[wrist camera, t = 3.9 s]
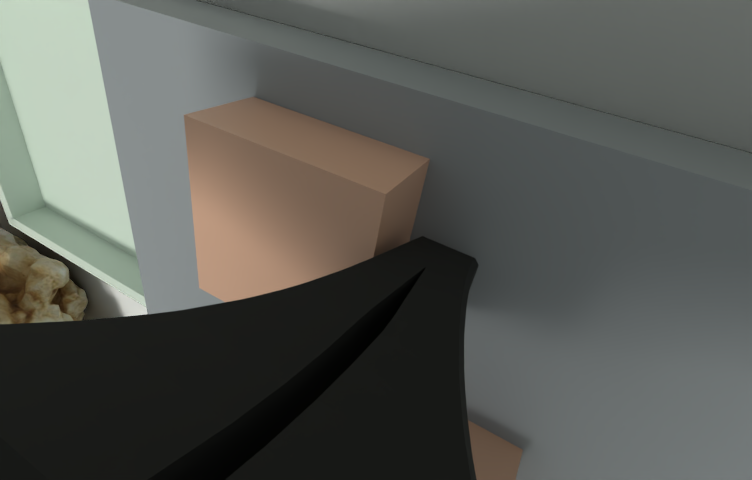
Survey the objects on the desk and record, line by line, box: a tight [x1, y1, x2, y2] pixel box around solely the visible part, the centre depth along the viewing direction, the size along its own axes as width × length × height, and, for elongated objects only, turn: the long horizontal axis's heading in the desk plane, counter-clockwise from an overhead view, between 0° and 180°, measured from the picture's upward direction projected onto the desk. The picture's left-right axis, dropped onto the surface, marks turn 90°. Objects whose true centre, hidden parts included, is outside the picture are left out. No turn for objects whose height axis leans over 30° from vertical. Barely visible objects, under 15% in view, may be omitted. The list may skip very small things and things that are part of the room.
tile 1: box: [468, 420, 523, 480], centre depth 12 cm, size 4×4×2 cm
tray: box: [0, 0, 147, 308], centre depth 17 cm, size 12×10×2 cm
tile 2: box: [184, 97, 430, 302], centre depth 10 cm, size 4×4×2 cm
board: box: [88, 0, 752, 480], centre depth 13 cm, size 13×20×2 cm, turn 80°
